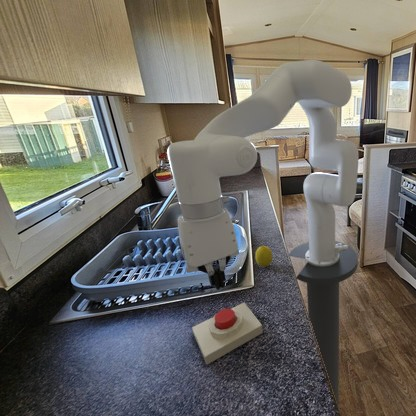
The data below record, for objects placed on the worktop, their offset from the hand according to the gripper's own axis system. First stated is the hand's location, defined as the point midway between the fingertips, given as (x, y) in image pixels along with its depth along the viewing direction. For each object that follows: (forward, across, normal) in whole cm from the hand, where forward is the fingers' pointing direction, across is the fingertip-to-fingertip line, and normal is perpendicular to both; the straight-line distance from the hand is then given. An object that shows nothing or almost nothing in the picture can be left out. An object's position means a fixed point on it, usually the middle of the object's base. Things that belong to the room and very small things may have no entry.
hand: (218, 285), depth 57 cm
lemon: (+14, -20, -19) cm, 31 cm away
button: (+11, 0, 0) cm, 11 cm away
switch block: (+14, 0, 0) cm, 14 cm away
